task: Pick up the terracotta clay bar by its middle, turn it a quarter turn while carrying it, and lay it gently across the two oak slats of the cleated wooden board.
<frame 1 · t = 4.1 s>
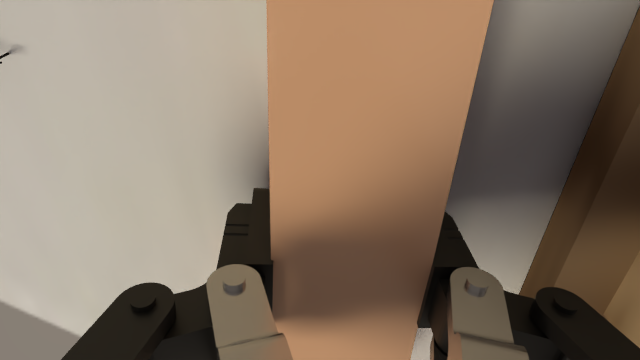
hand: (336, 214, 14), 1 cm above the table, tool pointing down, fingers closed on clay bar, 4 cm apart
clay bar: (334, 196, 15), on the table, touching gripper
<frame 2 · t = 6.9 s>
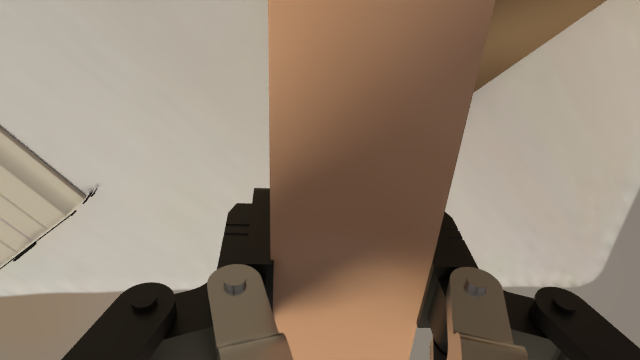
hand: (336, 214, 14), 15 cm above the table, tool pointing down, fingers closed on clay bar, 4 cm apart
clay bar: (333, 197, 15), point 14 cm above the table, touching gripper
when the fingers open (6 cm above the table, at t = 10.2 s): clay bar stays where it is, resting on cleated wooden board.
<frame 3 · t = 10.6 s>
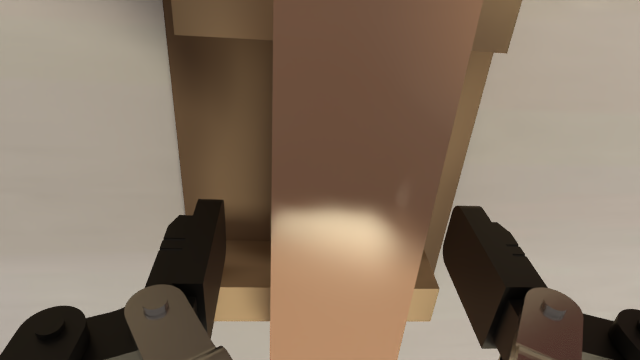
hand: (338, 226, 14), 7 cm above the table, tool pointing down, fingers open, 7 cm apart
clay bar: (331, 186, 16), point 4 cm above the table, touching cleated wooden board
cleated wooden board: (323, 131, 20), on the table
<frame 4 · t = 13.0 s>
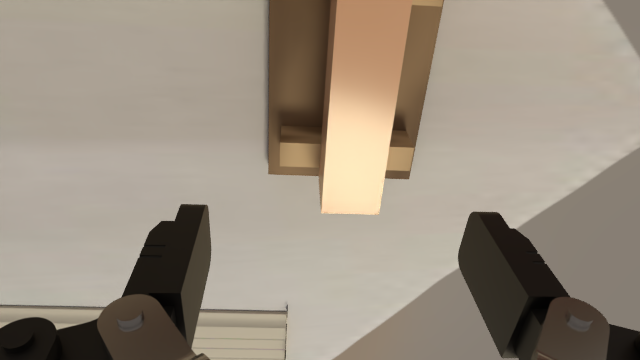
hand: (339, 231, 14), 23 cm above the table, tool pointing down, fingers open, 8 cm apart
clay bar: (354, 79, 30), point 4 cm above the table, touching cleated wooden board
cleated wooden board: (348, 60, 34), on the table
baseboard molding: (147, 331, 50), on the table
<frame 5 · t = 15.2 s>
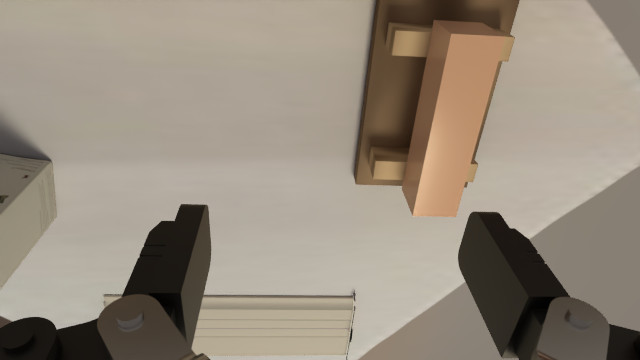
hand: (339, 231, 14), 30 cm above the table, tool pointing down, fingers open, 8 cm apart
supplement box: (18, 182, 46), on the table
clay bar: (438, 114, 40), point 4 cm above the table, touching cleated wooden board
cleated wooden board: (425, 95, 44), on the table
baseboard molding: (234, 315, 59), on the table
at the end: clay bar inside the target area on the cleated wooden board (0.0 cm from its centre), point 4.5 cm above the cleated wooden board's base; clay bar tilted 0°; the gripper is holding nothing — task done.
